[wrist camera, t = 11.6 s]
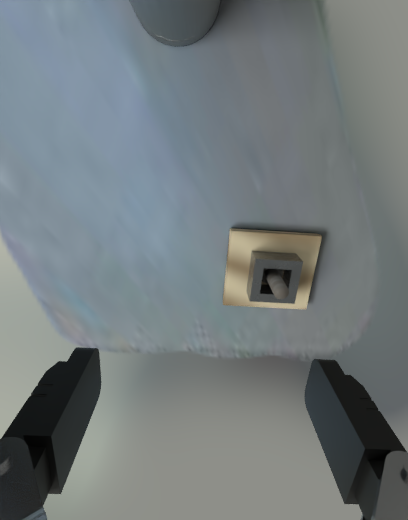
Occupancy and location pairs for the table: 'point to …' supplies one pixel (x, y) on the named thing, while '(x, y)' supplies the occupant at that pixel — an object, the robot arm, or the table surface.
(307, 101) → the table surface
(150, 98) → the table surface
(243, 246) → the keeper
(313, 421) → the robot arm
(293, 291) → the link
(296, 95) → the table surface
